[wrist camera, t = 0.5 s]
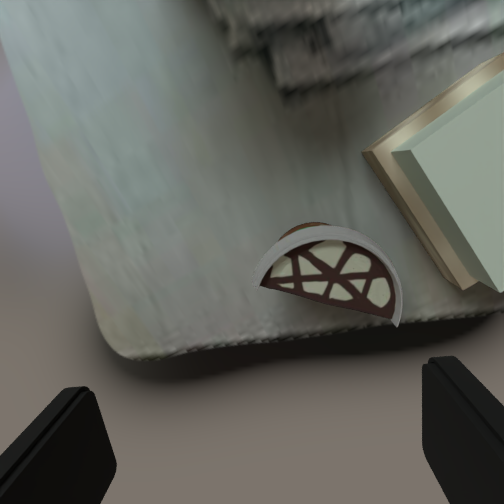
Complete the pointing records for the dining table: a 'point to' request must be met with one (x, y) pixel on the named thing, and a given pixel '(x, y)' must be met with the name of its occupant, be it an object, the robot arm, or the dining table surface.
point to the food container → (333, 270)
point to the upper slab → (465, 178)
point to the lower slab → (401, 186)
